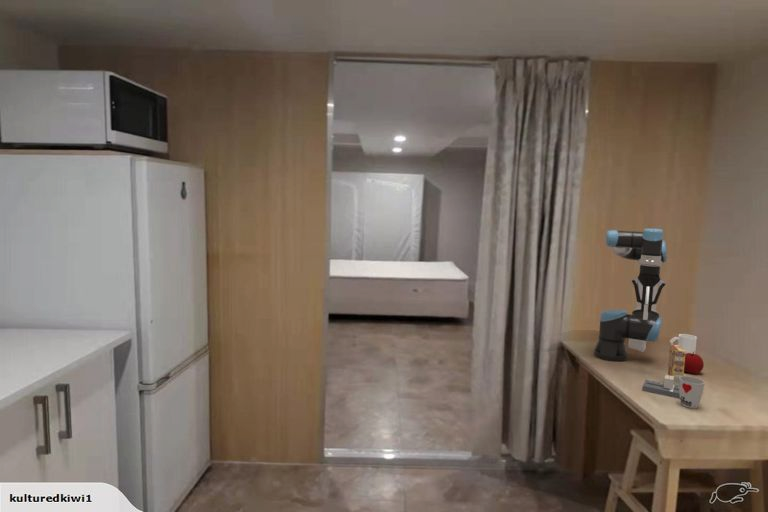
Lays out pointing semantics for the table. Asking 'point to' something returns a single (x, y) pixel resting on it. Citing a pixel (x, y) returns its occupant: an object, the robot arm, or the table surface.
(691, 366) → the apple
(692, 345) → the mug
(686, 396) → the cup
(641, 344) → the toilet paper
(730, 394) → the table surface
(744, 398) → the table surface
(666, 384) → the fader tab
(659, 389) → the console
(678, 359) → the candy box
